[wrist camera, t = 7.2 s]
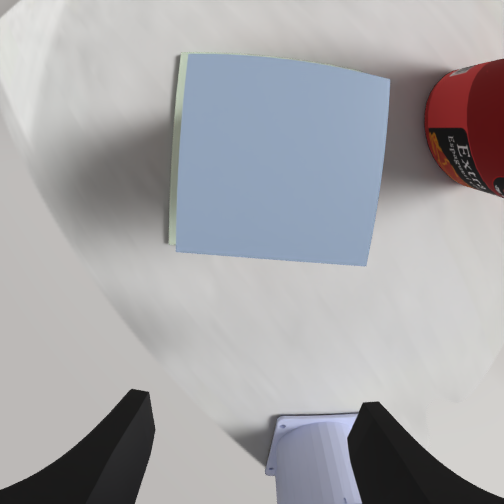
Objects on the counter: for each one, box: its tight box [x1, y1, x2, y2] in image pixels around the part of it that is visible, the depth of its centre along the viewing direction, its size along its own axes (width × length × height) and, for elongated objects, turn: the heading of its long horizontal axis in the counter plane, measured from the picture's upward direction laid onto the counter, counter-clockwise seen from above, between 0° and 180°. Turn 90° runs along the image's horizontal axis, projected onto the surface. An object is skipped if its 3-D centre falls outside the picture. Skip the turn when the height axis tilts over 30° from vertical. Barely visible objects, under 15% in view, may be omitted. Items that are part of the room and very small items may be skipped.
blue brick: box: [176, 54, 390, 266], centre depth 10 cm, size 5×5×5 cm
